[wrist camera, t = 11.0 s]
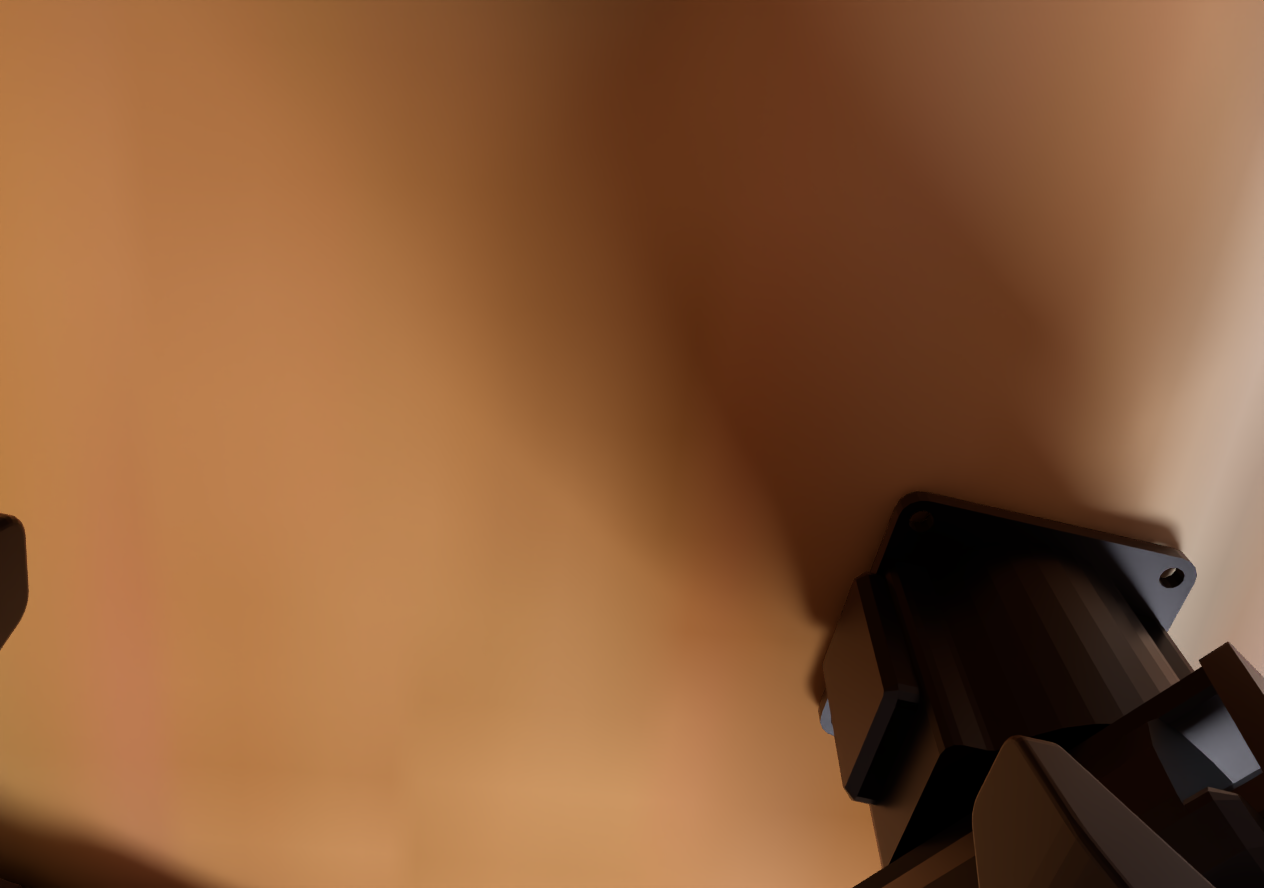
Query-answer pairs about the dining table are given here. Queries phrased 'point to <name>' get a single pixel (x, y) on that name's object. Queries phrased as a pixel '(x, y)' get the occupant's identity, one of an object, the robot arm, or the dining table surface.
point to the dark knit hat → (8, 884)
